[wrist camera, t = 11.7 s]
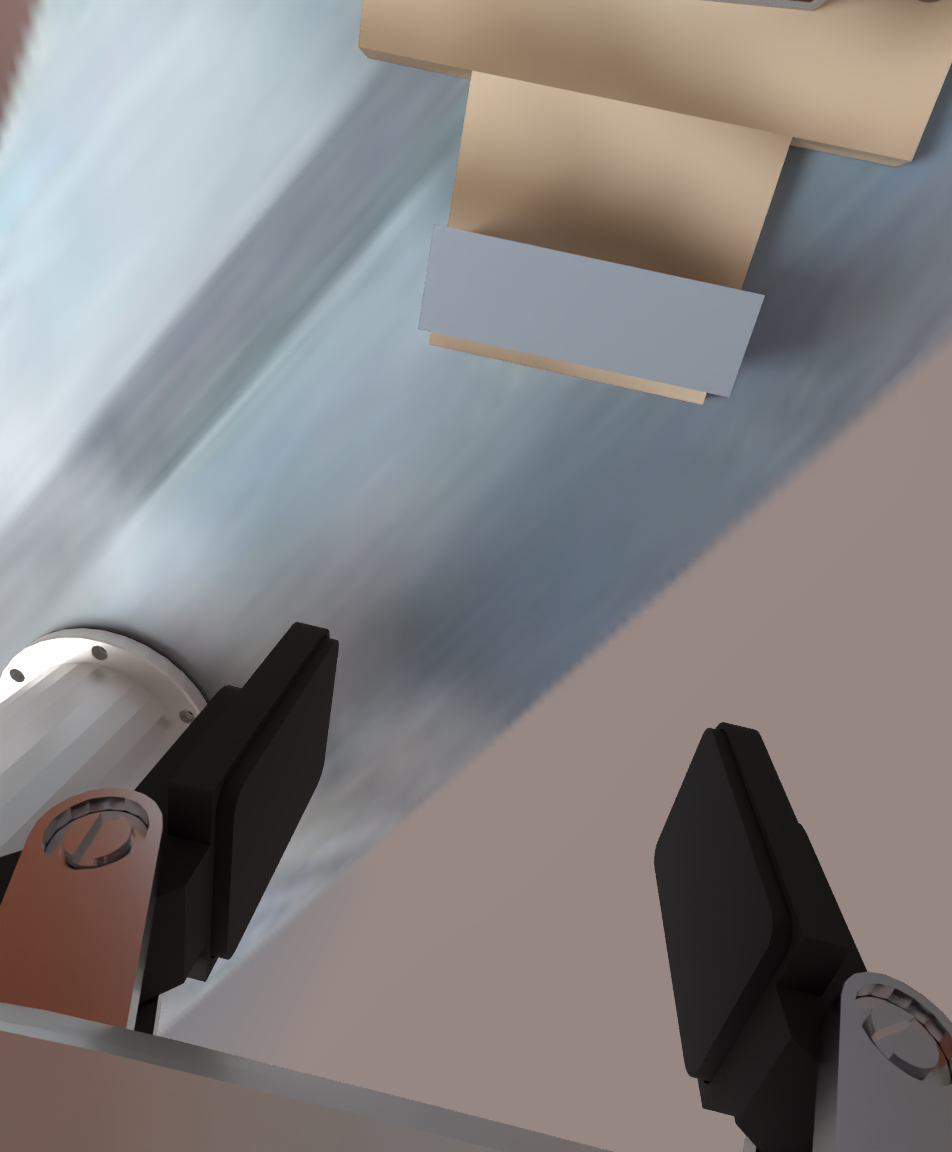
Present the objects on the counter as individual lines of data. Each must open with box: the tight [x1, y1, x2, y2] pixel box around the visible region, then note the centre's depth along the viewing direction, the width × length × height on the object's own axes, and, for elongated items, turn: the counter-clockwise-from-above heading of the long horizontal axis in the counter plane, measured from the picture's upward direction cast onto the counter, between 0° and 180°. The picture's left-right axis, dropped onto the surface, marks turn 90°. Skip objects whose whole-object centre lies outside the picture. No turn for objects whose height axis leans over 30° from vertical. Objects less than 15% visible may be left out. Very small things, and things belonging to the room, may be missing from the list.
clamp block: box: [418, 224, 765, 397], centre depth 23 cm, size 3×10×5 cm, turn 79°
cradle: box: [358, 0, 952, 405], centre depth 21 cm, size 21×19×5 cm
